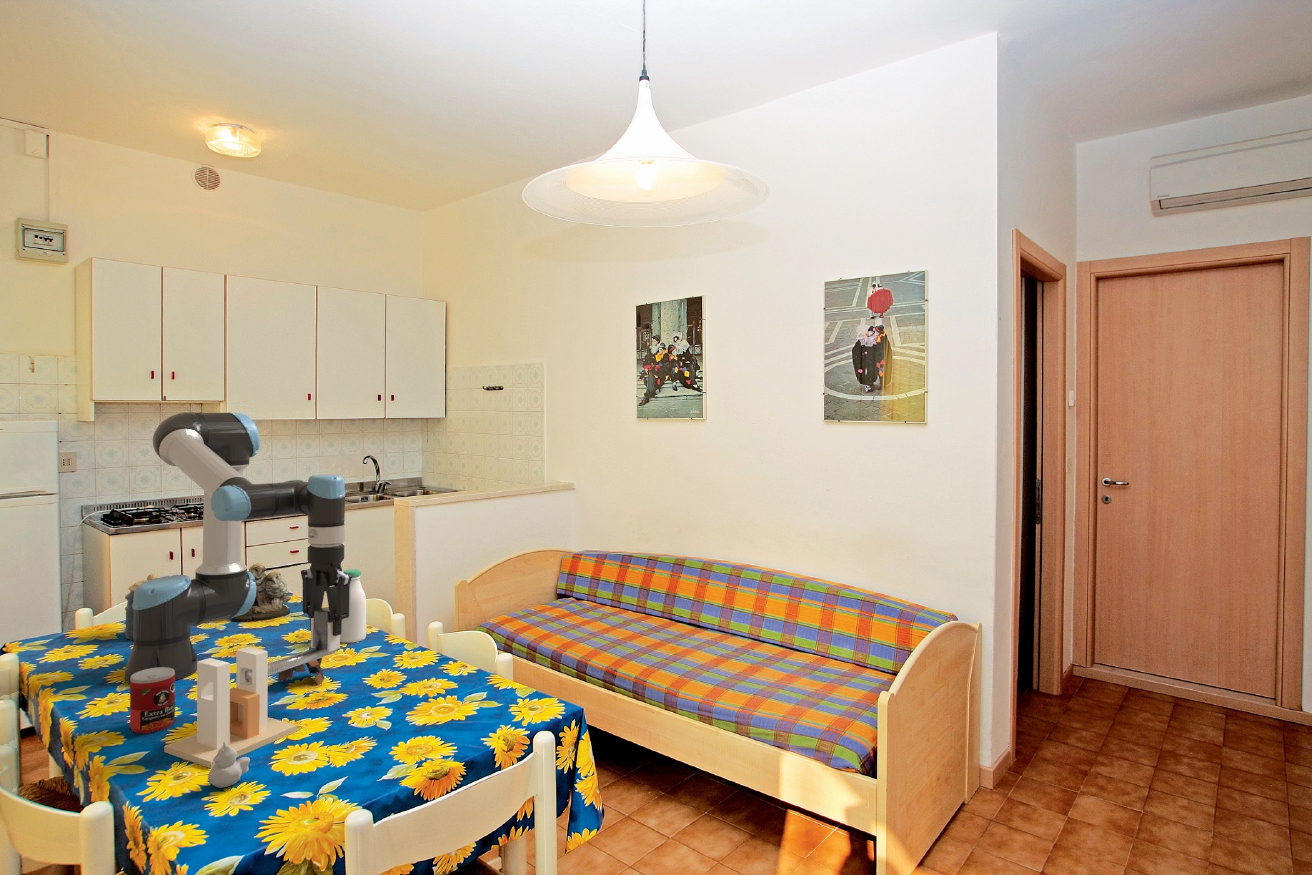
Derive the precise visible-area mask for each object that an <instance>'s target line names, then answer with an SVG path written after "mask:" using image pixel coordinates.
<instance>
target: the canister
mask: <svg viewBox="0 0 1312 875" xmlns="http://www.w3.org/2000/svg"><path fill="white" fill-rule="evenodd" d="M156 578H159V576H158V575H157V574H156V573H151V574H149V575H148V576H147V578H146V579H144V580H140V581H137V582H135V583H134V584H132V585H131V586H129V587H128V590H129V593H127V594H126V595H125V596H124V598H125V600H127V601H126V606H125V607H124V610H125V629H124V634H125V638H126V639H128V640H130V641H131V640H132V641H133V607H132V604H133V600H134V591H135V589H136V588H137V587H138V586H139V585H141V584H142V583H145V582H147V581H150V580H153V579H156Z"/></svg>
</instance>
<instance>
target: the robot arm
mask: <svg viewBox="0 0 1312 875" xmlns="http://www.w3.org/2000/svg"><path fill="white" fill-rule="evenodd" d="M260 446H261V440H260V432H259V429H258V427H257V425H256V423H255V422H254V420H253V419H252V418H251V417H250V416H249V415H247V414H244V413H237V412H189V411H188V412H181V413H176V414H173V415H170V416H168V417H167V418H165V419H164V420H163V421H162V422H161V423H159V425H158V426H157V427H156V429H155V431H154V432H153V435H152V447H153V449H154V452H155V453H156V455H157V457H158V458H160V459H161V460H162V461H163V462H164V463H165V464H167V465H169V466H172V467H177V468H178V469H179V470H180V471H181V472H182V473H184V475H186V476H187V477H188V478H189V479H190V480H192V481H193V482H194V483H195V484H196V485H197V486H199V487H200V489H202V490H203V516H202V517H203V518H202V519H203V525H202V528H203V529H202V531H203V532H202V562H201V564H200V565H199V566H198V567H197V568H196V569H195V572H194V573H195V574H194V575H195V577H194V578H193V579H191V577H190V576H188V575H187V574H174V575H166V576H162V577H161V576H160V577H158V578H156V579H153V580H150V581H147V582H145V583H142V584H141V585H139V586H138V587H137V588H136V589H135V591H134V600H133V604H132V607H133V640H132V642H133V644H132V645H133V646H132V649H131V651H130V655H129V657H128V660H127V663H126V666H125V668H124V677H123V678H124V681H125V682H126V681H127V682H126V683H129V684H130V677H131V675H133V674H134V673H136V672H139V671H142V670H145V669H150V668H158V667H167V668H172V669H174V671H175V681H177V680H180V679H183V678H186V677H189V676H192V674H195V673H196V672H197V662H198V661H199V658H198V656H197V653H196V651H195V648H194V646H193V644H192V641H191V640H192V639H191V627H193V626H198V625H202V624H208V623H213V622H217V621H222V620H231V618H233V617H236V616H240V615H243V614H245V613H246V612H248V610H249V609H250V608H251V607H252V605H253V603H254V601H255V597H256V582H254V581H255V578H254V576H253V574H252V573H251V572H249V570H248V566H247V565H246V564H245V563H244V562H242V561H241V560H242V559H241V556H242V554H241V552H242V521H247V520H254V519H255V520H256V519H263V518H274V517H284V516H293V515H303V516H304V515H305V516H307V543H308V544H309V546H308V547H307V562H308V563H309V564H310V567H309V568H306V569H302V570H300V577H301V580H302V613H303V614H304V615H305V614H306V615H307V616H308V618H309V630H310V648H312V649H314V648H315V647H314V610H316V609H319V608H323V602H324V597H325V593H326V599H327V605H328V606H327V607H329V612H330V619H331V620H328V651H333V650H336V651H337V650H339V649H341V642H340V635H341V632H342V620H343V619H345V618H348V617H349V596H350V582H351V578H352V576H351V574H348V575H346V574H344V571H343V569H342V565H341V564H342V562H343V561H344V560H345V545H344V544H343V543H344V542H345V541H346V537H345V536H346V535H345V534H346V533H345V532H346V531H345V524H346V523H345V520H346V519H345V518H346V517H345V516H346V515H345V514H346V512H345V511H346V510H345V509H346V489H345V488H346V487H345V479H344V477H343V476H342V475H339V474H315V475H311V476H309V478H308V479H307V480H308V481H303V480H300V479H295V480H293V479H292V480H291V479H290V480H286V481H284V482H274V483H273V482H272V483H271V482H270V483H268V482H267V483H252V482H251V481H249V480H248V479H247V478H245V477H244V475H243V472H244V470H245V469H247V467H249V466H250V458H253V457H256V455H257V454H258V452H259V449H260ZM336 614H337V615H336Z"/></svg>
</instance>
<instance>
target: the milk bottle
mask: <svg viewBox="0 0 1312 875" xmlns="http://www.w3.org/2000/svg"><path fill="white" fill-rule="evenodd" d="M343 573H344V574H346V575H348V574H351V576H352V578H351V582H350V596H349V617H348V618H345V619H343V620H342V632H341V635H340V643H343V644H345V643H346V644H348V643H349V644H350V643H357V642H361V641H363V640H365V639H366V637H367V598H366V593H365V591H364V589H363V587H362V583H361V580H360V579H361V574H362V571H361V570H360V569H357V568H352V569H351V568H350V569H346V570H343Z"/></svg>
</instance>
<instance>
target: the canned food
mask: <svg viewBox="0 0 1312 875" xmlns="http://www.w3.org/2000/svg"><path fill="white" fill-rule="evenodd" d="M175 701H176V680H175V671H174V669H172V668H167V667H158V668H150V669H145V670H142V671H139V672H136V673H134V674H133V675H131V677H130V683H129V713H130V714H129V718H130V720H129V721H130V722H129V723H130V724H129V725H130V729H131V731H132V732H133V731H134V732H133V733H135V732H136V734H150V733H151V732H152V733H156V732H155V731H157V732H160V731H159V730H161V731H163V729H164V730H166V729H168V728H170V727H171V726H172V725H173V724H174V721H175V719H176V713H175V712H176V702H175ZM165 728H166V729H165Z"/></svg>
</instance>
